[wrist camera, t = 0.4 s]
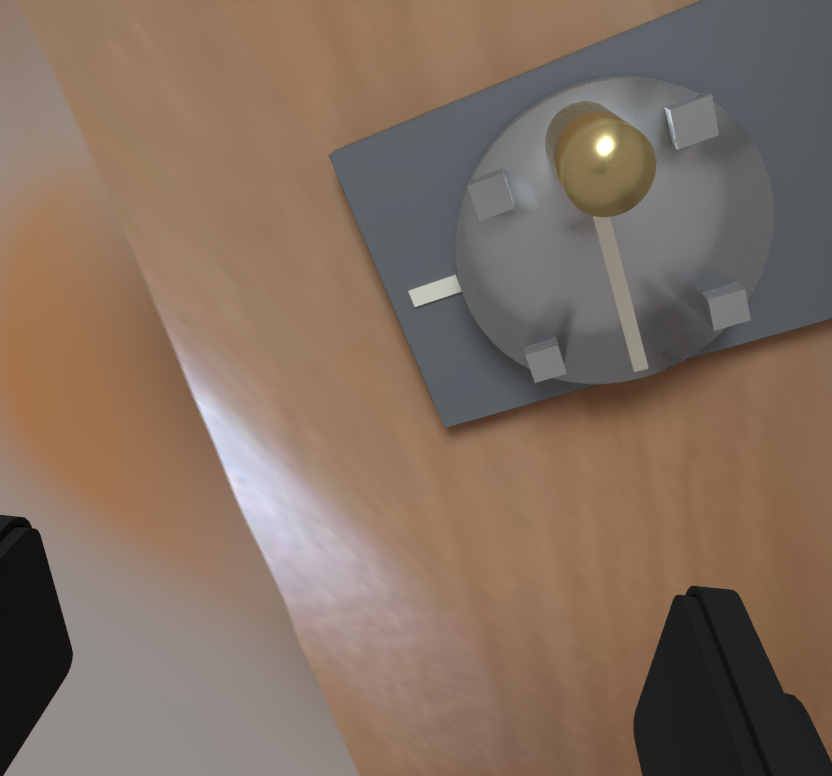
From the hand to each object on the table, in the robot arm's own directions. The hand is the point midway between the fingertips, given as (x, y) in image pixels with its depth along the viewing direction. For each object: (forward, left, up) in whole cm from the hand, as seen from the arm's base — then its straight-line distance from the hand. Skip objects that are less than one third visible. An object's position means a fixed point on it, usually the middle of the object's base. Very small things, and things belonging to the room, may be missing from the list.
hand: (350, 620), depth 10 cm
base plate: (-7, +4, -27) cm, 28 cm away
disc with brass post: (-7, +4, -25) cm, 26 cm away
